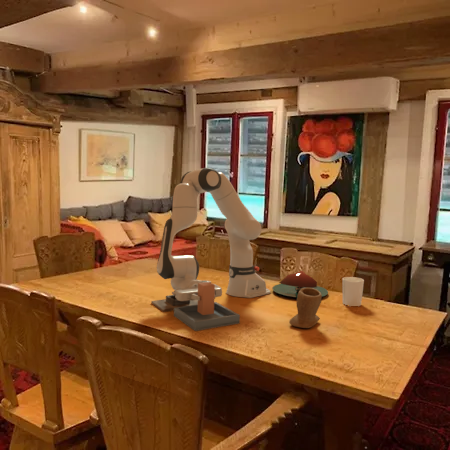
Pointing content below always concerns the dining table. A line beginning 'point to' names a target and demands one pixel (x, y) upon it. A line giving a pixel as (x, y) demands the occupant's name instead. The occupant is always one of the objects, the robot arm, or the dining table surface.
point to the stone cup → (307, 308)
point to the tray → (206, 317)
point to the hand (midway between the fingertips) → (207, 297)
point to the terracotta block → (206, 298)
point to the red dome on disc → (297, 284)
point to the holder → (172, 303)
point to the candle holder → (352, 291)
